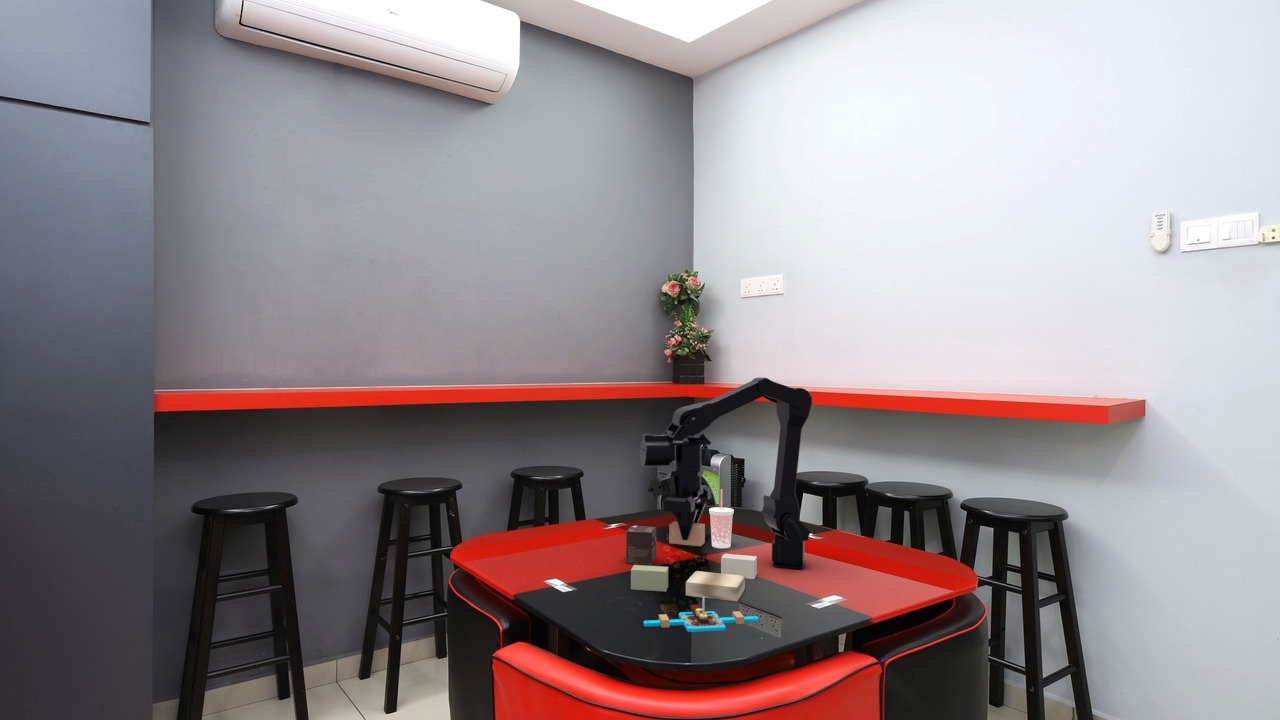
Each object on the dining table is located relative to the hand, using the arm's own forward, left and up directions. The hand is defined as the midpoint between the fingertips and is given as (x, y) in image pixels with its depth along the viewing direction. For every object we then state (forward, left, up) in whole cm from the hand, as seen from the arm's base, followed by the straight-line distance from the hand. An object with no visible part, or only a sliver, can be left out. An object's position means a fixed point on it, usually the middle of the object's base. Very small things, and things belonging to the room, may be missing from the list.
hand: (687, 537), depth 152 cm
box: (+12, -4, -7) cm, 15 cm away
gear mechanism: (-10, +28, -8) cm, 31 cm away
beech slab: (-9, +12, -8) cm, 17 cm away
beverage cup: (-2, -24, -7) cm, 25 cm away
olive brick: (+4, +14, -7) cm, 16 cm away
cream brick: (-11, -1, -7) cm, 13 cm away
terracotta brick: (0, 0, -1) cm, 1 cm away
